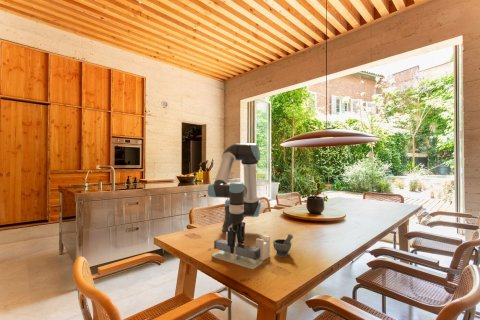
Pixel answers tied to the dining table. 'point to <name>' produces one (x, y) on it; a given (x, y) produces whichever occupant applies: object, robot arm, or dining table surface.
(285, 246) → the mortar and pestle
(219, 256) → the mat
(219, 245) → the rail
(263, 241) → the beige u-shaped block
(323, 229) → the dining table surface
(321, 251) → the dining table surface
